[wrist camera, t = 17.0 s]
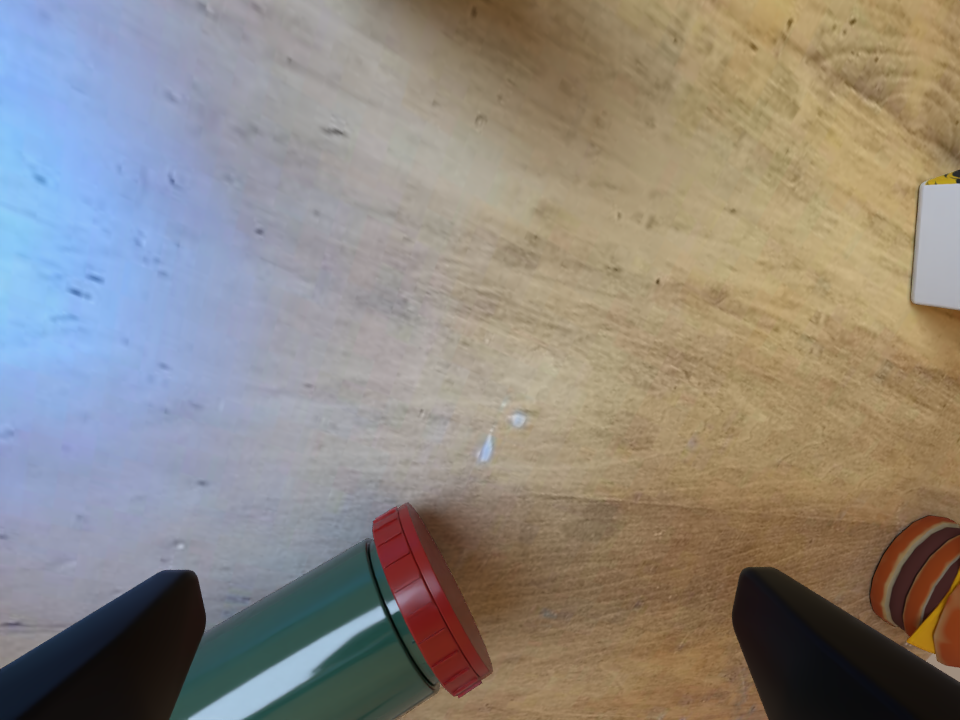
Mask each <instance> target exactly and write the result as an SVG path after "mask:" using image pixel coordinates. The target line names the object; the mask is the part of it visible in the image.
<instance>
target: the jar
mask: <svg viewBox="0 0 960 720" xmlns="http://www.w3.org/2000/svg"><path fill="white" fill-rule="evenodd" d="M440 684H441V683H440V682H439V680H438V679H437V678H436V676H435V675H434V673H433V672H432V670H431V668H430V667H429V665H428V664H427V662H426V660H425V659H424V657H423V655H422V653H421V651H420V650H419V648H418V646H417V644H416V642H415V640H414V638H413V636H412V635H411V633H410V631H409V629H408V627H407V625H406V623H405V621H404V618H403V616H402V614H401V612H400V610H399V608H398V605H397V603H396V601H395V598H394V596H393V594H392V592H391V589H390V587H389V584H388V582H387V579H386V576H385V574H384V571H383V568H382V565H381V563H380V560H379V557H378V553H377V550H376V546H375V542H374V540H372V539H370V538H368V539H365V540H363V541H361V542H360V543H358V544H356V545H354V546H353V547H351V548H349V549H347V550H346V551H344V552H342V553H341V554H339V555H337V556H335V557H334V558H332V559H330V560H328V561H327V562H325V563H323V564H322V565H320V566H318V567H316V568H315V569H313V570H311V571H310V572H308V573H306V574H304V575H303V576H301V577H299V578H297V579H296V580H294V581H292V582H291V583H289V584H287V585H285V586H284V587H282V588H280V589H278V590H277V591H275V592H273V593H272V594H270V595H268V596H266V597H265V598H263V599H261V600H260V601H258V602H256V603H254V604H253V605H251V606H249V607H247V608H246V609H244V610H242V611H241V612H239V613H237V614H235V615H234V616H232V617H230V618H228V619H227V620H225V621H223V622H222V623H220V624H218V625H216V626H215V627H213V628H211V629H210V630H208V631H206V632H204V634H203V636H202V639H201V642H200V644H199V647H198V649H197V652H196V654H195V657H194V659H193V662H192V664H191V667H190V669H189V672H188V674H187V677H186V679H185V682H184V684H183V687H182V689H181V692H180V694H179V697H178V699H177V702H176V704H175V707H174V709H173V712H172V714H171V717H170V719H169V720H397V719H399V718H400V717H402V716H403V715H405V714H406V713H408V712H409V711H411V710H412V709H414V708H415V707H417V706H418V705H420V704H422V703H423V702H425V701H426V700H428V699H429V698H431V697H432V696H434V695H435V694H437V693H438V691H439V690H440Z"/></svg>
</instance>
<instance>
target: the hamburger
mask: <svg viewBox="0 0 960 720" xmlns="http://www.w3.org/2000/svg"><path fill="white" fill-rule="evenodd" d="M870 598H871V602H872V607H873V611H874V612H875V613H876V614H877V615H878V616H880V617H881V618H882V619H883V620H885V621H886V622H887V623H889V624H890V625H892V626H895V627H900V628H901V629H903V630H904V631H905V632H906V633H907V634H908V635H909V636H910V637H909V638H908V639H907V642H908V643H909V644H912V645H914V646H916V647H918V648H920V649H922V650H925V651H928V652H931V653H934V654H936V657H937V661H938V662H940V663H942V664H944V665H947V666H953V667H959V668H960V527H959V525H958V524H957V523H955V522H954V521H952V520H950V519H948V518H945V517H937V516H927V517H925V518H923V519H920V520H918V521H916V522H914V523H912V524H911V525H910V526H909V527H908V528H907V529H906V530H904V531H903V532H902V533H901V534H900V535H899V536H898V537H897V538H895V540H894V541H893V542H892V544H891V545H890V546H889V548H888V549H887V551H886V552H885V553H884V555H883V557H882V559H881V561H880V563H879V566H878V568H877V570H876V572H875V574H874V577H873V582H872V588H871V593H870Z"/></svg>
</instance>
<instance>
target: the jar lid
mask: <svg viewBox="0 0 960 720" xmlns="http://www.w3.org/2000/svg"><path fill="white" fill-rule="evenodd" d="M375 519H376V520H374V521H373V527H372V532H373V537H374V542H375V546H376V550H377V553H378V557H379V560H380V563H381V565H382V568H383V571H384V574H385V576H386V579H387V582H388V584H389V587H390V589H391V592H392V594H393V596H394V598H395V601H396V603H397V605H398V608H399V610H400V612H401V614H402V616H403V618H404V621H405V623H406V625H407V627H408V629H409V631H410V633H411V635H412V636H413V638H414V640H415V642H416V644H417V646H418V648H419V650H420V651H421V653H422V655H423V657H424V659H425V660H426V662H427V664H428V665H429V667H430V668H431V670H432V672H433V673H434V675H435V676H436V678H437V679H438V680H439V682H440V683H441V685H442V686H443V687H444V688H445V689H446V690H447V691H448V692H449V693H450V694H451V695H453V696H458V698H460V697H462V696H463V695H465V694H466V693H468V692H469V691H471V690H472V689H474V688H475V687H477V686H478V685H480V684H481V683H482V681H481V680H482V679H484V678H486V677H487V676H489V675H490V674H492V672H493V667H492V663H491V660H490V657H489V654H488V652H487V649H486V647H485V644H484V642H483V639H482V637H481V635H480V632H479V630H478V628H477V626H476V623H475V621H474V619H473V617H472V615H471V612H470V610H469V608H468V606H467V604H466V602H465V600H464V598H463V596H462V594H461V592H460V589H459V587H458V585H457V583H456V581H455V580H454V578H453V576H452V574H451V572H450V570H449V568H448V566H447V564H446V562H445V560H444V558H443V556H442V555H441V553H440V551H439V549H438V547H437V545H436V544H435V542H434V540H433V538H432V537H431V535H430V533H429V531H428V530H427V528H426V526H425V525H424V523H423V521H422V520H421V518H420V517H419V515H418V514H417V512H416V511H415V509H414V508H413V507H412V506H411V505H410V504H409V503H405V504H404V505H402V506H400V507H399V508H397V507H394V508H393V509H391V510H389V511H387V512H386V513H384V514H382V515H381V516H379V517H377V518H375Z"/></svg>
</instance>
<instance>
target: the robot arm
mask: <svg viewBox="0 0 960 720" xmlns="http://www.w3.org/2000/svg"><path fill="white" fill-rule="evenodd" d="M732 622H733V627H734V631H735V634H736V636H737V639H738V642H739V644H740V647H741V649H742V652H743V654H744V657H745V660H746V662H747V665H748V667H749V670H750V673H751V675H752V678H753V680H754V683H755V686H756V688H757V691H758V693H759V696H760V699H761V701H762V704H763V706H764V709H765V711H766V714H767V717H768V719H769V720H960V682H958V681H957V680H955V679H953V678H952V677H950V676H948V675H947V674H945V673H944V672H942V671H941V670H939V669H937V668H936V667H934V666H933V665H931V664H929V663H928V662H926V661H925V660H923V659H921V658H920V657H918V656H916V655H915V654H913V653H912V652H910V651H908V650H907V649H905V648H904V647H902V646H900V645H899V644H897V643H895V642H894V641H892V640H891V639H889V638H887V637H886V636H884V635H883V634H881V633H879V632H878V631H876V630H875V629H873V628H871V627H870V626H868V625H866V624H865V623H863V622H862V621H860V620H858V619H857V618H855V617H854V616H852V615H850V614H849V613H847V612H845V611H844V610H842V609H841V608H839V607H837V606H836V605H834V604H833V603H831V602H829V601H828V600H826V599H825V598H823V597H821V596H820V595H818V594H816V593H815V592H813V591H812V590H810V589H808V588H807V587H805V586H804V585H802V584H800V583H799V582H797V581H795V580H794V579H792V578H791V577H789V576H787V575H786V574H784V573H783V572H781V571H779V570H777V569H775V568H772V567H747V568H744V569H743V570H742V572H741V573H740V576H739V581H738V586H737V590H736V595H735V600H734V605H733V610H732ZM205 624H206V614H205V609H204V604H203V600H202V595H201V590H200V586H199V581H198V577H197V575H196V574H195V572H193V571H191V570H165V571H161V572H159V573H157V574H155V575H154V576H152V577H150V578H149V579H147V580H146V581H144V582H142V583H141V584H139V585H137V586H136V587H134V588H132V589H131V590H129V591H128V592H126V593H124V594H123V595H121V596H119V597H118V598H116V599H114V600H113V601H111V602H110V603H108V604H106V605H105V606H103V607H101V608H100V609H98V610H96V611H95V612H93V613H92V614H90V615H88V616H87V617H85V618H83V619H82V620H80V621H79V622H77V623H75V624H74V625H72V626H70V627H69V628H67V629H65V630H64V631H62V632H61V633H59V634H57V635H56V636H54V637H52V638H51V639H49V640H47V641H46V642H44V643H43V644H41V645H39V646H38V647H36V648H34V649H33V650H31V651H29V652H28V653H26V654H25V655H23V656H21V657H20V658H18V659H16V660H15V661H13V662H11V663H10V664H8V665H7V666H5V667H3V668H2V669H0V720H169V719H170V717H171V714H172V712H173V709H174V707H175V704H176V702H177V699H178V697H179V694H180V692H181V689H182V687H183V684H184V682H185V679H186V677H187V674H188V672H189V669H190V667H191V664H192V662H193V659H194V657H195V654H196V652H197V649H198V647H199V644H200V642H201V639H202V636H203V634H204V630H205Z"/></svg>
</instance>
